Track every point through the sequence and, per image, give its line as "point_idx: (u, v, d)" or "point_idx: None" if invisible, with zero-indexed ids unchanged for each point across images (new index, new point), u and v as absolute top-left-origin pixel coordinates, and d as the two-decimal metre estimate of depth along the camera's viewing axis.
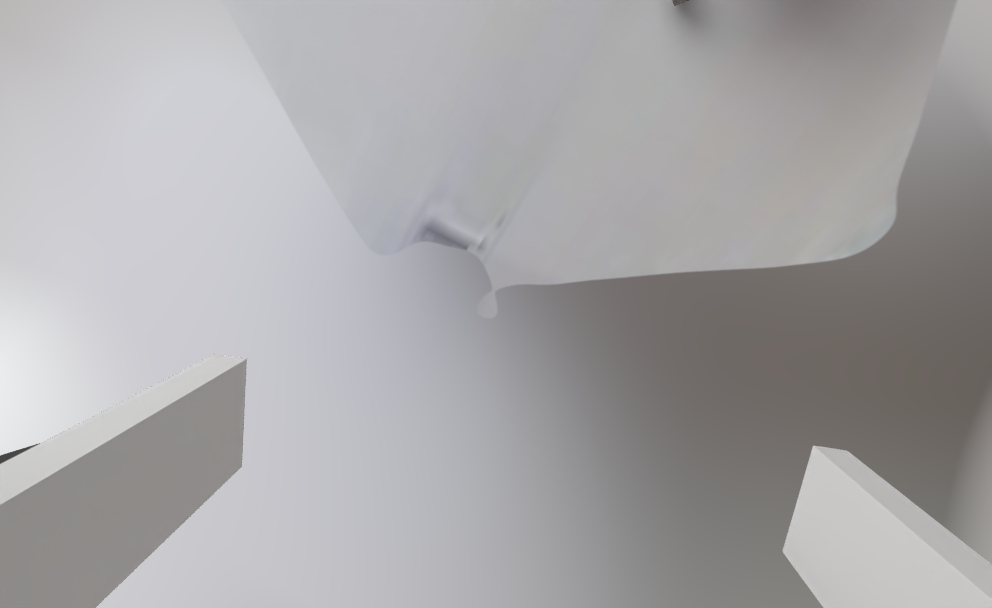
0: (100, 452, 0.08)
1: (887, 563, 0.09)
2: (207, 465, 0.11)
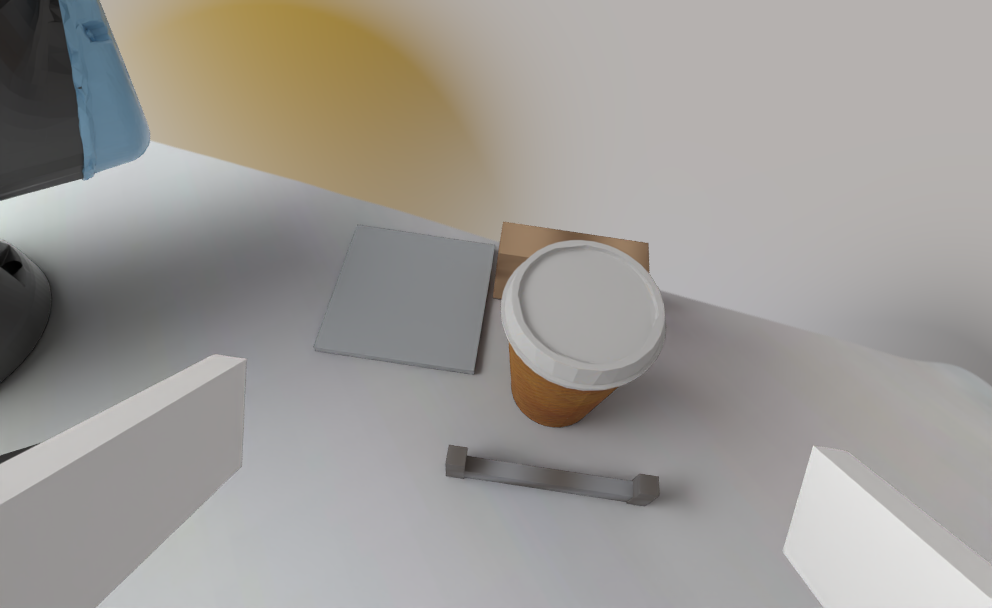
0: (100, 452, 0.08)
1: (886, 563, 0.09)
2: (207, 465, 0.11)
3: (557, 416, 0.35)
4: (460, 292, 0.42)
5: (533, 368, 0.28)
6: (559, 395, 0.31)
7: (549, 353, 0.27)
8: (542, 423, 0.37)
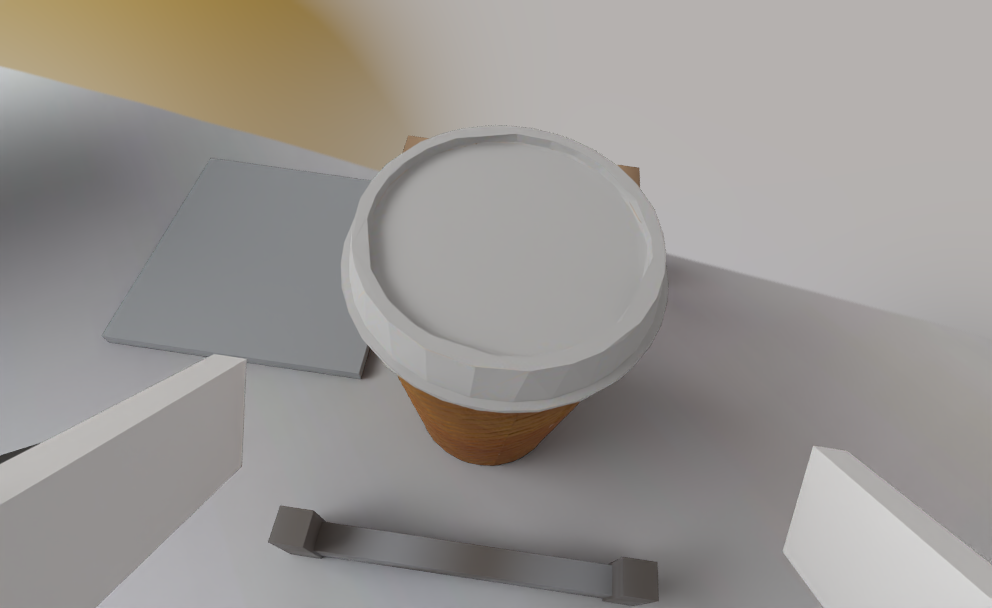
0: (100, 452, 0.08)
1: (887, 562, 0.09)
2: (207, 465, 0.11)
3: (480, 451, 0.20)
4: None
5: (390, 366, 0.13)
6: (464, 419, 0.16)
7: (414, 332, 0.12)
8: (464, 459, 0.23)
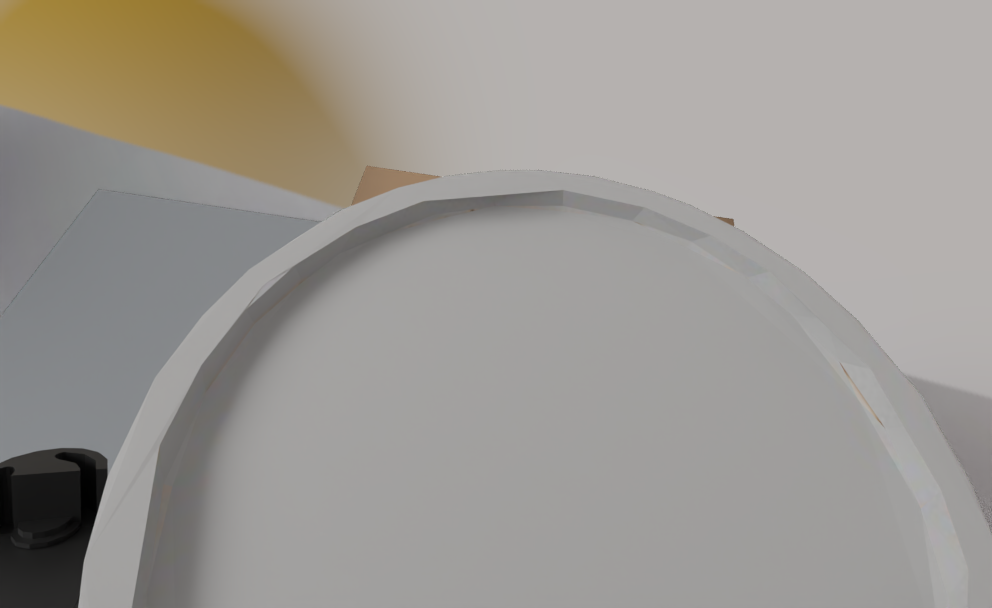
0: None
1: None
2: None
3: None
4: None
5: None
6: None
7: None
8: None
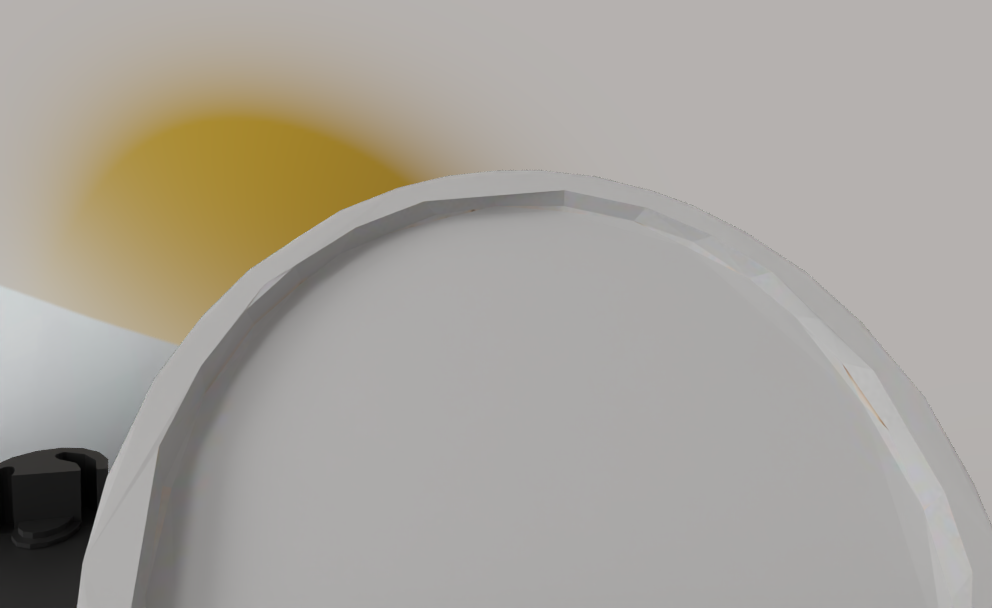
0: None
1: None
2: None
3: None
4: None
5: None
6: None
7: None
8: None
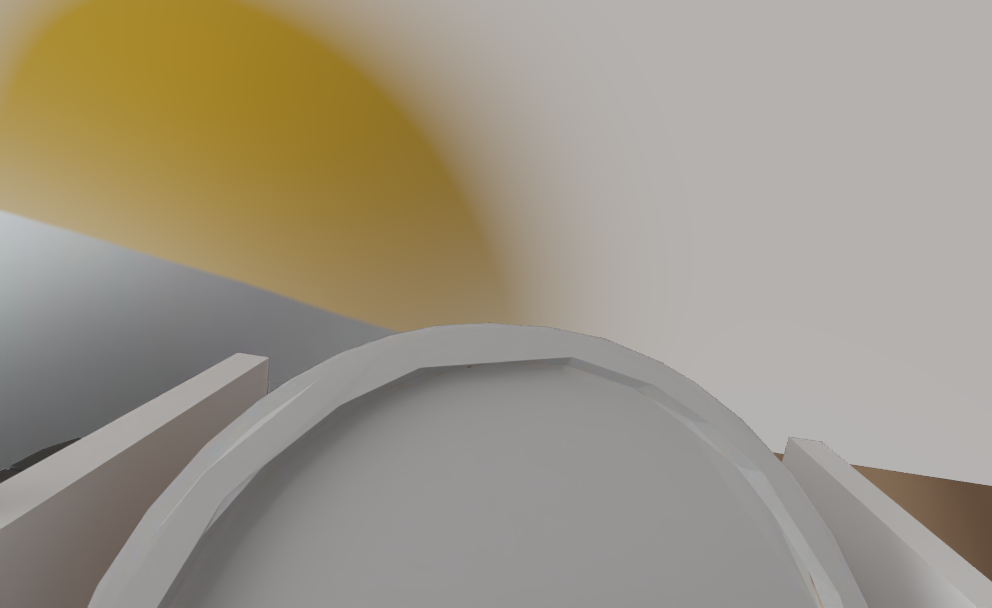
0: (139, 446, 0.08)
1: (853, 547, 0.09)
2: None
3: None
4: None
5: None
6: None
7: None
8: None
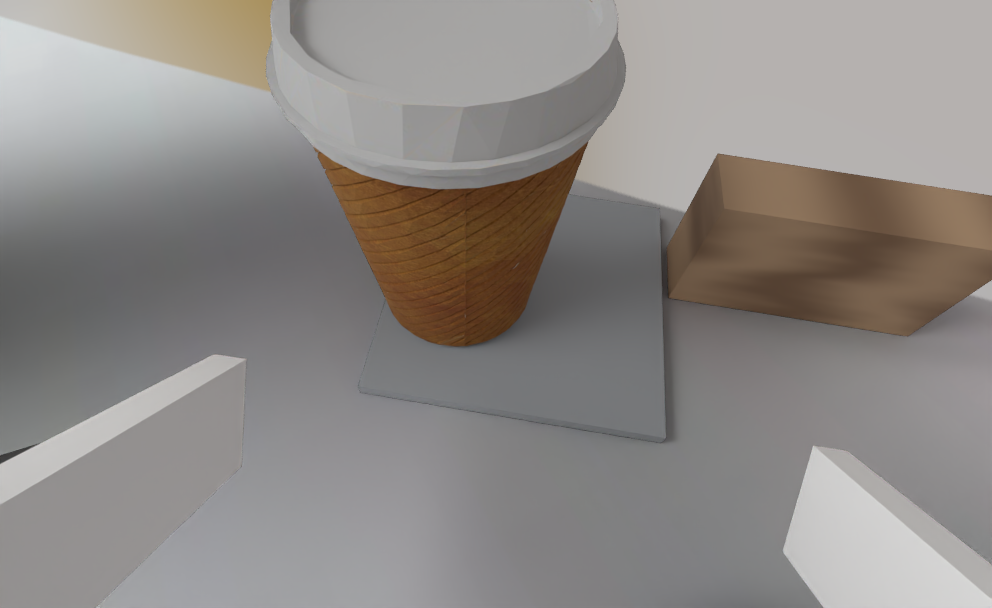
0: (100, 452, 0.08)
1: (886, 563, 0.09)
2: (207, 465, 0.11)
3: (444, 311, 0.19)
4: (616, 287, 0.24)
5: (315, 137, 0.12)
6: (412, 233, 0.15)
7: (335, 79, 0.11)
8: (433, 339, 0.21)
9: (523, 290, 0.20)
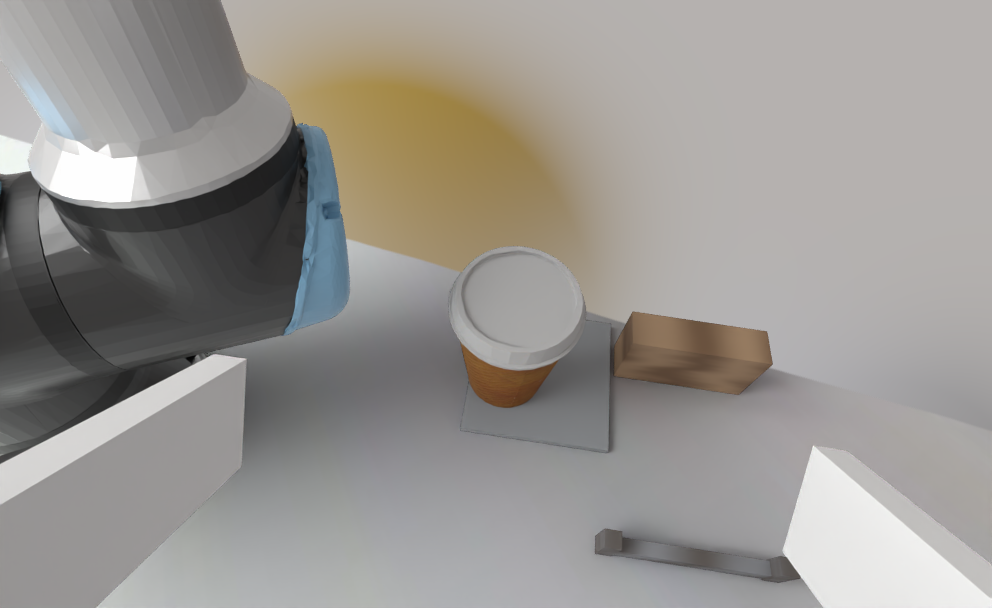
0: (100, 452, 0.08)
1: (886, 563, 0.09)
2: (207, 465, 0.11)
3: (505, 397, 0.41)
4: (585, 371, 0.46)
5: (475, 354, 0.34)
6: (502, 376, 0.37)
7: (487, 340, 0.33)
8: (495, 405, 0.43)
9: None
